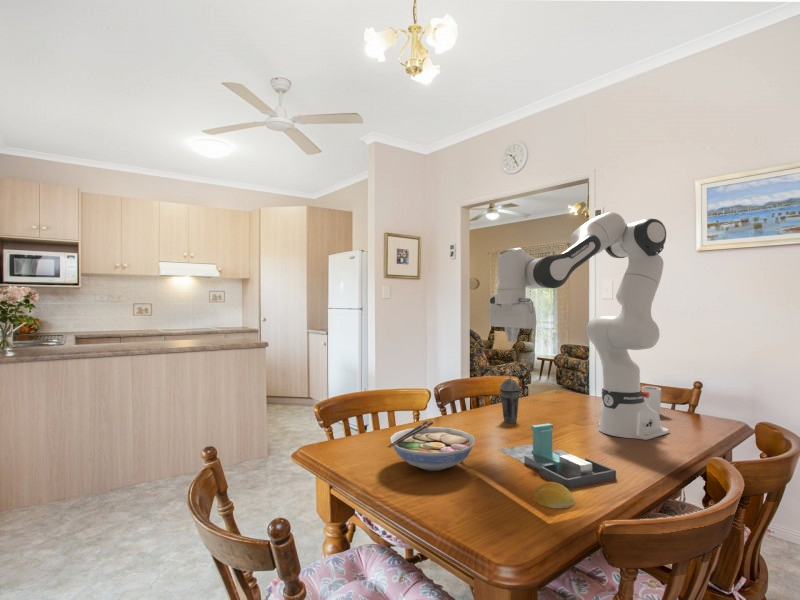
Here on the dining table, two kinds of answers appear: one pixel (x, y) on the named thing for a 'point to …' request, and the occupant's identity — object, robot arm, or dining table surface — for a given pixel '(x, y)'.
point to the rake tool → (544, 444)
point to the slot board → (531, 457)
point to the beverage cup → (510, 399)
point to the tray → (597, 476)
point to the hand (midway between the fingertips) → (512, 341)
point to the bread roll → (553, 495)
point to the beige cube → (566, 463)
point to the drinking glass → (653, 398)
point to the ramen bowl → (432, 446)
